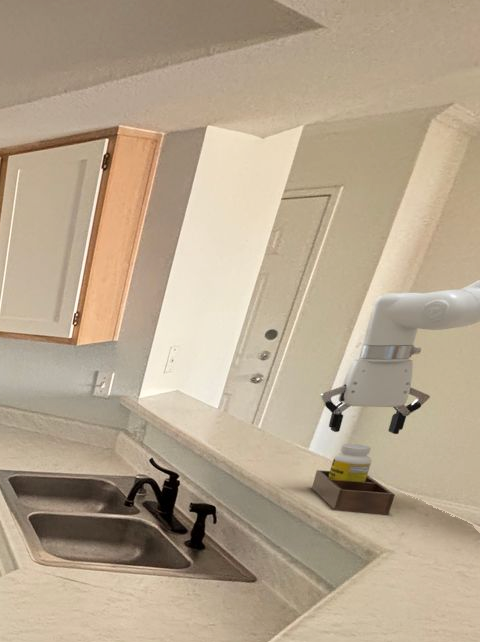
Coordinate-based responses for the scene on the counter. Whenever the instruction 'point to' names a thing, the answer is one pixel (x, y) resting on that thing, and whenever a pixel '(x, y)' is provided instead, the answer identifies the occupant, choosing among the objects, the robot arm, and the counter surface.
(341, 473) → the pill bottle
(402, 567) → the counter surface
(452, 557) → the counter surface
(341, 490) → the divided box
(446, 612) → the counter surface
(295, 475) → the counter surface
